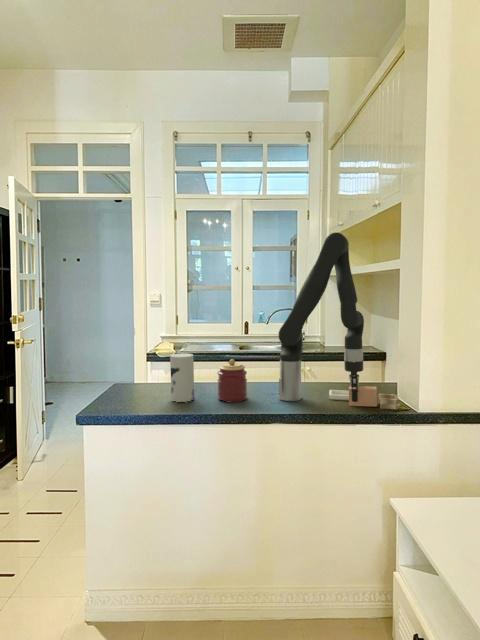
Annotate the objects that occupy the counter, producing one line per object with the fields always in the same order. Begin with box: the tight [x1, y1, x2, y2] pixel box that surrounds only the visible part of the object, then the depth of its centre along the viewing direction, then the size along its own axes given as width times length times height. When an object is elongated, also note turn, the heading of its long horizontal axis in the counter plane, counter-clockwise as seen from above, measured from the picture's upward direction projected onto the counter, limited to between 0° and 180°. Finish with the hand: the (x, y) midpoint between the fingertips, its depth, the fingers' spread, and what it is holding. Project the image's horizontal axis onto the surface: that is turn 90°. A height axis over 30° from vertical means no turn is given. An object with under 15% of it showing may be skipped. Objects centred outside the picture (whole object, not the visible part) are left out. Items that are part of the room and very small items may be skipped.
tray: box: [328, 389, 349, 401], centre depth 189 cm, size 15×9×2 cm, turn 76°
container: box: [169, 353, 195, 401], centre depth 188 cm, size 10×10×20 cm
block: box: [348, 385, 378, 407], centre depth 178 cm, size 11×5×7 cm, turn 74°
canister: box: [217, 358, 248, 403], centre depth 189 cm, size 13×13×18 cm
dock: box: [378, 393, 400, 410], centre depth 176 cm, size 7×8×4 cm
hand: (354, 399), depth 178 cm, fingers closed on block, 5 cm apart
